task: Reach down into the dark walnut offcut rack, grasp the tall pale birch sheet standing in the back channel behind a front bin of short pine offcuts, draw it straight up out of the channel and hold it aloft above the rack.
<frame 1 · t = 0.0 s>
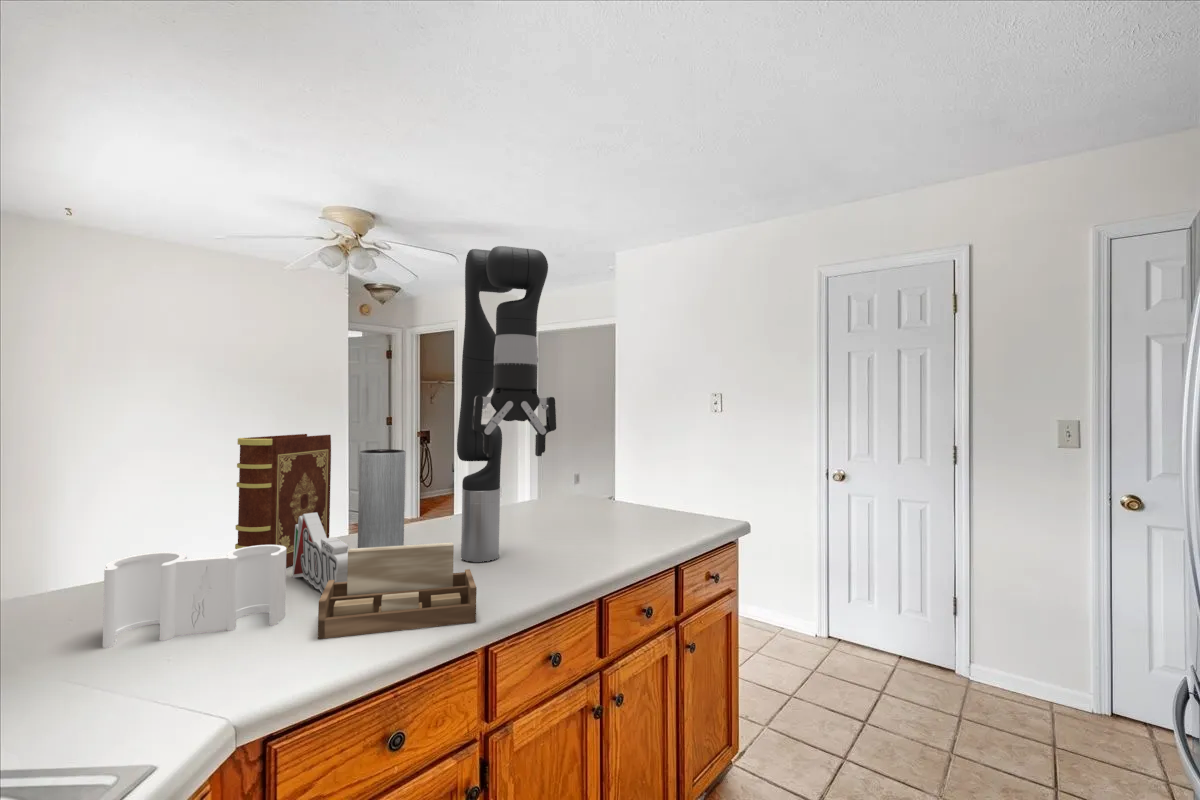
hand: (514, 456, 97), 29 cm above the countertop, fingers open, 8 cm apart
vase: (380, 568, 129), on the countertop
decorative sign: (320, 589, 115), on the countertop
offcut c: (445, 619, 99), resting in rack
decorative book: (283, 563, 132), on the countertop
sheet: (401, 613, 102), resting in rack
offcut b upper: (400, 607, 97), point 3 cm above the countertop, touching offcut b lower
offcut a: (353, 628, 94), resting in rack
rack: (400, 618, 99), on the countertop
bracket: (200, 627, 94), on the countertop
offcut b lower: (400, 624, 97), resting in rack, touching offcut b upper
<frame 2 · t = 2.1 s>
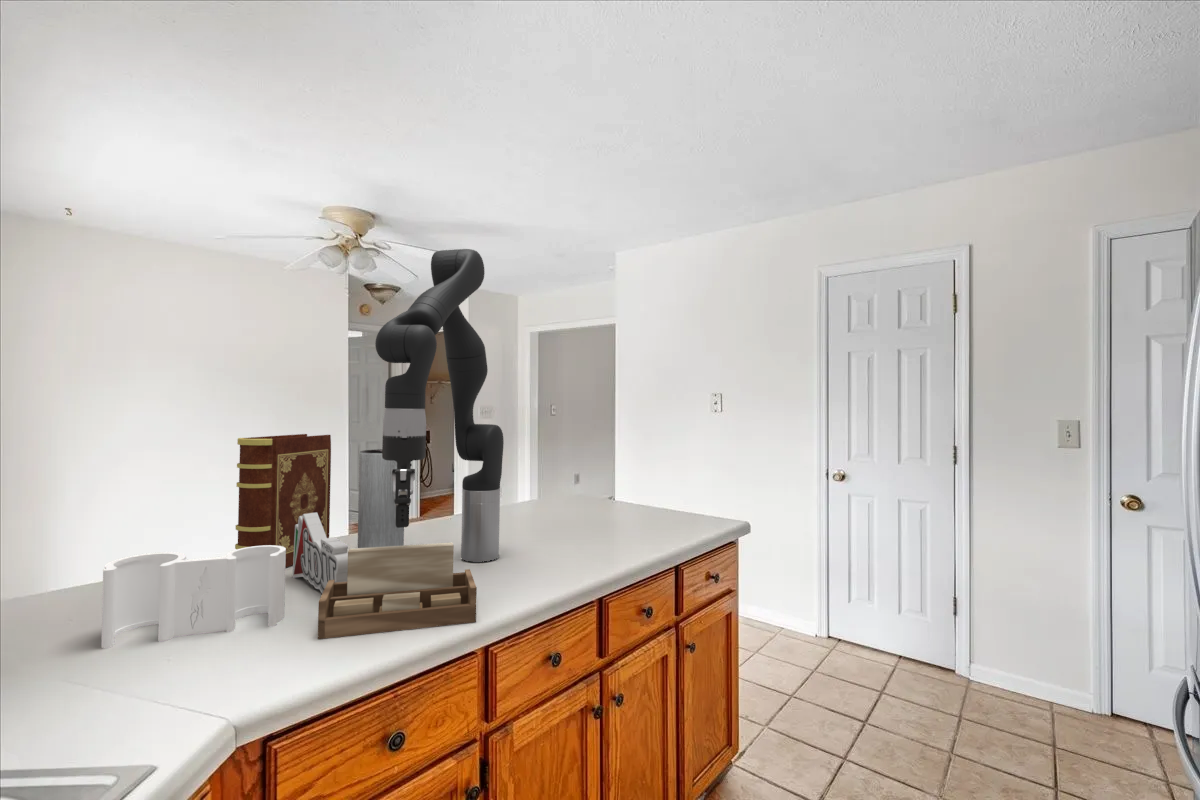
hand: (402, 522, 102), 16 cm above the countertop, fingers open, 8 cm apart
nothing on the countertop moved.
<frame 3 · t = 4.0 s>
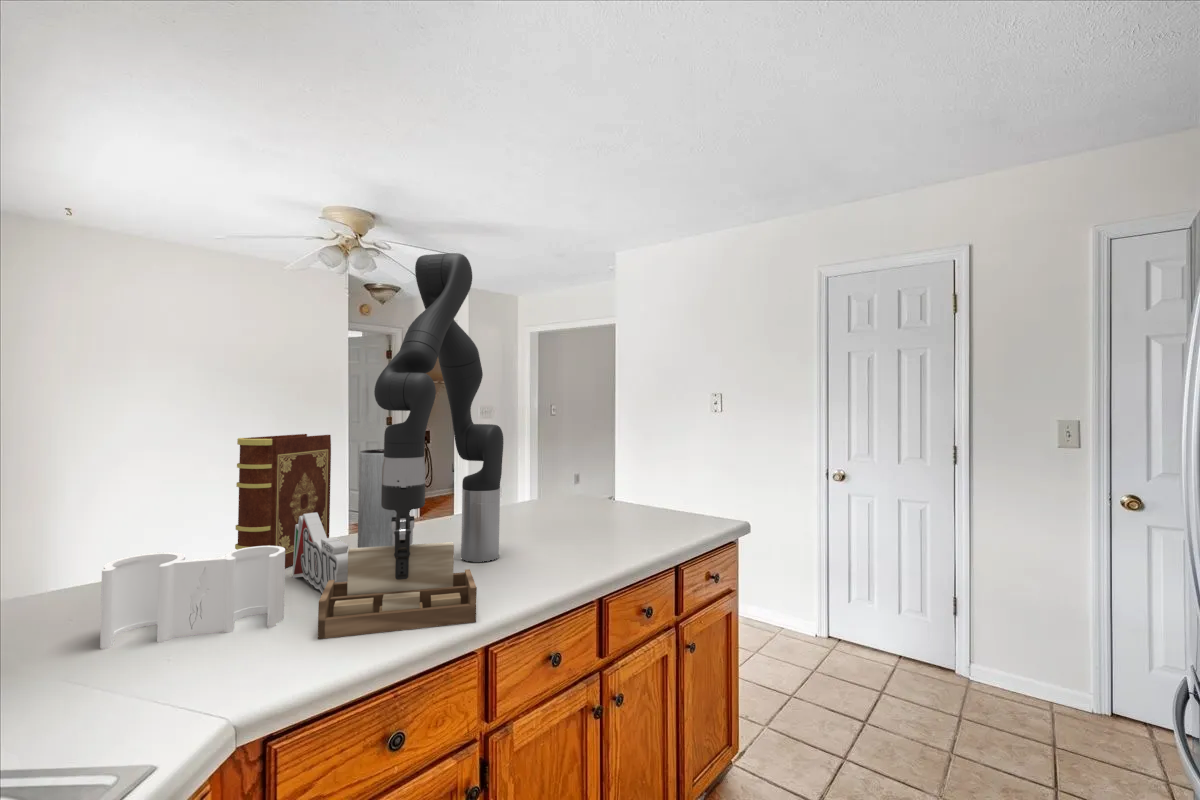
hand: (401, 575, 102), 7 cm above the countertop, fingers closed on sheet, 2 cm apart
sheet: (401, 612, 102), resting in rack, touching gripper
everything else where it was.
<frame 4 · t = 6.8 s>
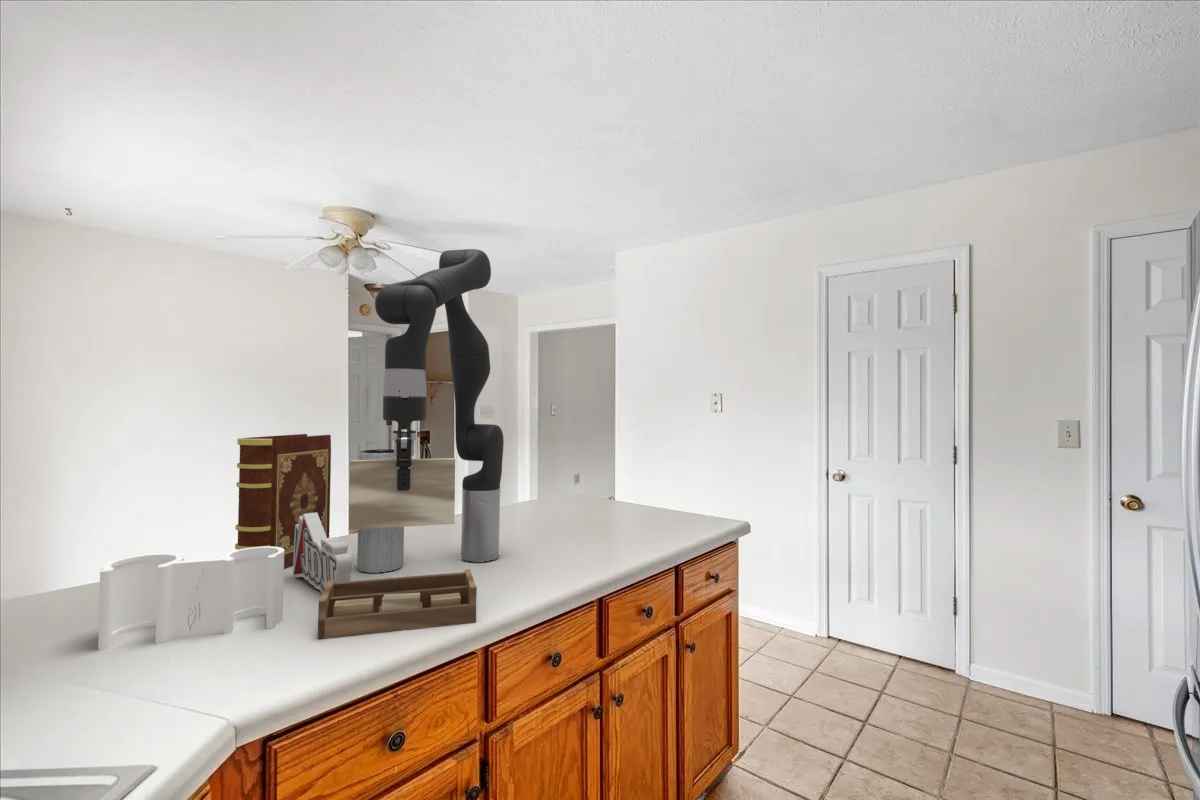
hand: (403, 488, 102), 23 cm above the countertop, fingers closed on sheet, 2 cm apart
sheet: (403, 525, 102), point 16 cm above the countertop, touching gripper
everything else where it was.
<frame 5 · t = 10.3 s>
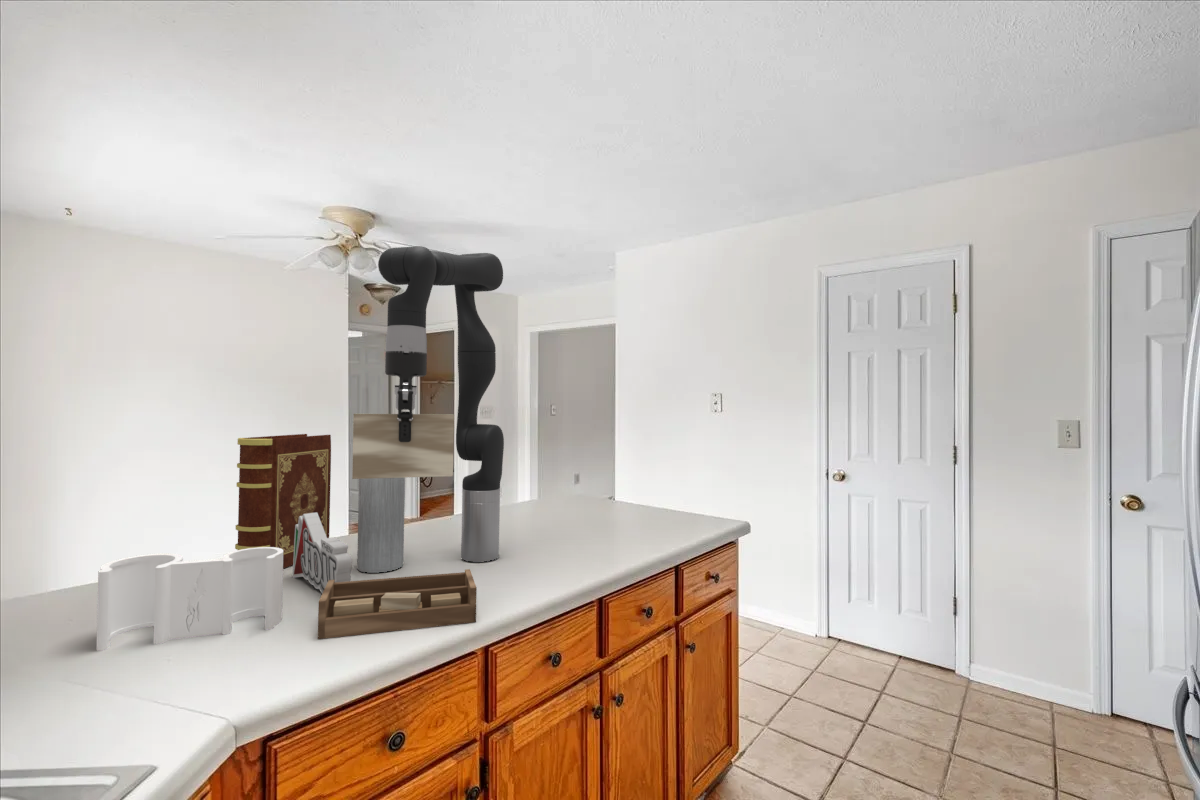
hand: (404, 440, 107), 31 cm above the countertop, fingers closed on sheet, 2 cm apart
sheet: (404, 476, 107), point 24 cm above the countertop, touching gripper
at the end: sheet point 24.1 cm above the countertop; sheet touching gripper; the gripper is holding sheet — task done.
